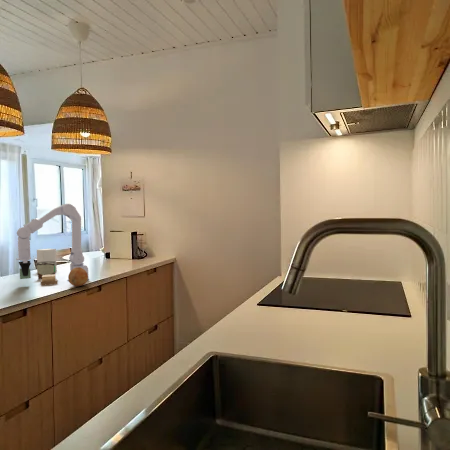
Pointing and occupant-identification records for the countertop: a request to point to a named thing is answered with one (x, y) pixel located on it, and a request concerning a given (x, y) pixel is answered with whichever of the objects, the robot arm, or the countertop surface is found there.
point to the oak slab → (48, 277)
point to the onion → (78, 276)
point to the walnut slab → (49, 282)
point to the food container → (45, 268)
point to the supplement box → (46, 255)
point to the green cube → (25, 276)
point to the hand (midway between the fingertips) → (25, 275)
